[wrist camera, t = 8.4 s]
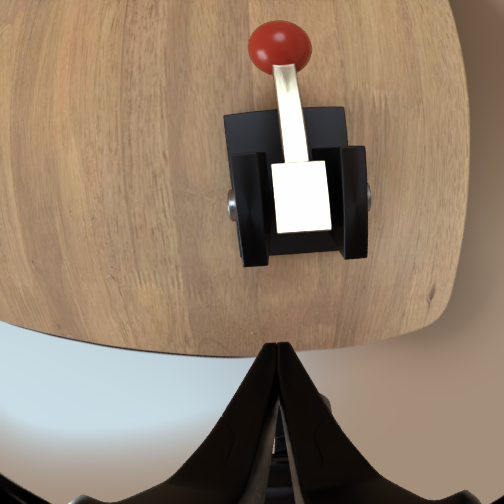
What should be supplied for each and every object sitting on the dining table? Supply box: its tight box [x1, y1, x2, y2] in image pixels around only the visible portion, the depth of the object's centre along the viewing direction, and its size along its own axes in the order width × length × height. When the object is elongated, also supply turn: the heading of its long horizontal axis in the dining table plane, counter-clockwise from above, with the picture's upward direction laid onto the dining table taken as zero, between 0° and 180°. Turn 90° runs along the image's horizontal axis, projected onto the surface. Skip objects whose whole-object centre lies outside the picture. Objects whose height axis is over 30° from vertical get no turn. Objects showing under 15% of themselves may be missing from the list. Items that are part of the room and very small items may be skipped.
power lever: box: [248, 20, 332, 234], centre depth 12 cm, size 11×3×3 cm, turn 6°
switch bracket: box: [223, 107, 371, 267], centre depth 15 cm, size 10×8×10 cm
